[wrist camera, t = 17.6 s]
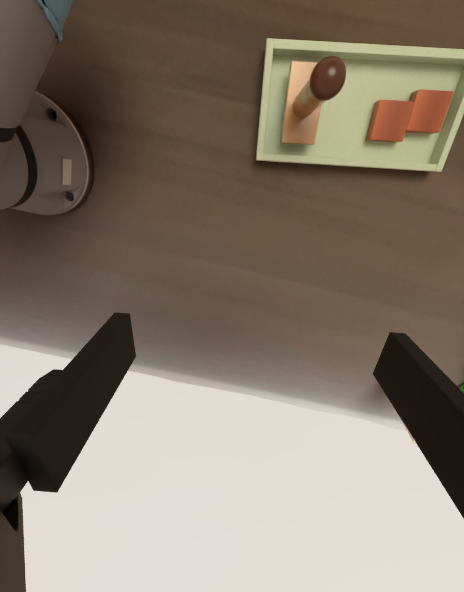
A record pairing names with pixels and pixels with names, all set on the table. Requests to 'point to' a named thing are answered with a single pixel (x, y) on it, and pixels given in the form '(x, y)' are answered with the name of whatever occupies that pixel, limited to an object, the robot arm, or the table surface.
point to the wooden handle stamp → (309, 97)
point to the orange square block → (428, 110)
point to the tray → (362, 104)
